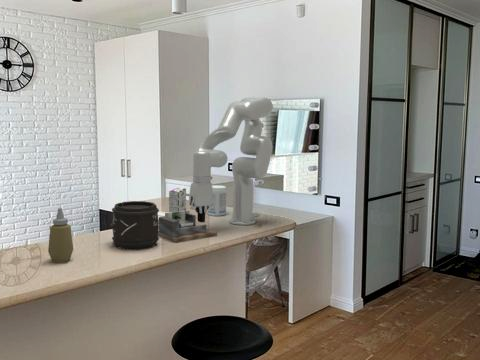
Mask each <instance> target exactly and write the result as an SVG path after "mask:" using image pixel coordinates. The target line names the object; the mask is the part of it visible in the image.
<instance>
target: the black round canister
mask: <svg viewBox="0 0 480 360" xmlns="http://www.w3.org/2000/svg"><path fill="white" fill-rule="evenodd" d="M111 211H112V222H111V223H110V229H112V237H111V240H112V241H113V244H114V245H115V247H116V248H118V249H122V250H126V251H127V250H134V251H137V250H139V251H140V250H144V249H145V250H146V249H150V248H153V247H154V246H156V245H157V242H159V240H160V238H159V236H158V231H159V212H160V210H159V208H158V207H157V205H156V203H155V202H151V201H142V200H141V201H140V200H139V201H137V200H130V201H122V202H117V203H115V204H114V207H112V208H111Z"/></svg>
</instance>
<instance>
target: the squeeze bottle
mask: <svg viewBox="0 0 480 360" xmlns="http://www.w3.org/2000/svg"><path fill="white" fill-rule="evenodd" d="M63 211H64V210H63V208H62V207H59V208H58V209H57V213H56V217H55V218H53V219H52V225H51V226H50V227H49V236H48V237H49V238H48V248H47V249H48V251H47V252H48V255H49V256H50V257H49V258H50V259H51V261H52V262H54V263H65V262H69V261H71V258H72V255H73V252H74V243H73V235H72V228H71V227H72V226H71V225H70V224H68V223H69V222H68V221H69V219H68V218H67V217H65V215H64V212H63Z"/></svg>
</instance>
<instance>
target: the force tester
mask: <svg viewBox="0 0 480 360" xmlns="http://www.w3.org/2000/svg"><path fill="white" fill-rule="evenodd" d="M185 213H190V210H189V209H188V210H187V209H186V211H178V212H169V211H168V212H165V213H164V216H158V220H159V229H158V238H159V237H160V238H161V237H162V238H161V239H164V240H166V239H167V241H168V242H172V243H174V244H175V243H176V244H177V243H182V242H188V241H189V242H190V241H194V240H200V239H206V238H211V237H212V238H213V237H217V236H218V232H217V231H215V230H211V229H209V228H207V226H208V225H207V224H198V225H196V226H192V227H185V228H179V218H176V220H175V216H179V217H181V221H182V220H185Z"/></svg>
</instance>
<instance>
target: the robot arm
mask: <svg viewBox="0 0 480 360" xmlns="http://www.w3.org/2000/svg"><path fill="white" fill-rule="evenodd" d="M273 107H274V105H273V102H272V100H271V99H270V98H268V97H244V98H242V99H241V100H240V101H238V100H237V101H233V102H231V103H230V104H229V105H228V107H227V109H226V111H225V112H224V114H223V117H222V119H221V121H220V124H219V125H218V127H217V128H215V129H213V131H211V133H210V134H208V136H206V137H205V138H203V140H202V142H201V144H200V146H199V148H198V150H196V151H194V152H193V155H192V157H193V158H192V162H193V165H192V170H193V171H192V176H193V177H192V182H191V183H190V187H189V188H190V189H189V195H188V204H189V206H190V208H189V209H190V210H194V211H195V212H196V213H197V216H196V217H197V218H196V220H197V222H198V223H205V222H206V213H208V208H211V207H212V204H213V188H212V186H213V184H212V183H213V182H212V181H211V180H213V176H212V174H211V173H212V168H222V167H224V166H225V165H226V164H227V162H228V156H227V153H226V152H225V151H223V150H219V149H215V148H216V147H217V146H218V145H220V144H222V143H224V142H226V141H229V140H231V139H233V138H234V137H236V135H237V132H238V130H239V128H240V126H241V124H242V122H243V121H244V128H243V133H242V138H241V142H240V146H239V147H240V148H239V149H240V152H241V153H242V154H243V155H246V156H240V157H237V158H235V159H234V160H233V162H232V165H231V169H232V170H231V171H232V177H233V194H232V195H233V199H232V204H233V205H232V218H230V219H229V220H228V221H229V223H230V224H232V225H236V226H237V225H239V226H248V225H255V224H256V219H255V218H260V216H261V214H260V213H259V212H256V213H255V212H254V183H253V180H252V179H254V180H255V179H256V180H261V179H264V178H265V177H266V175H267V172H268V169H269V166H270V162H271V156H272V153H273V142H272V140H271V139H270V137H268V136H265V135H262V132H263V125H262V121H261V119H262V118H264V117H265V118H266V117H267V116H269V115H270V114H271V113H272V111H273V109H274V108H273ZM249 156H255V157H249Z"/></svg>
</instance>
